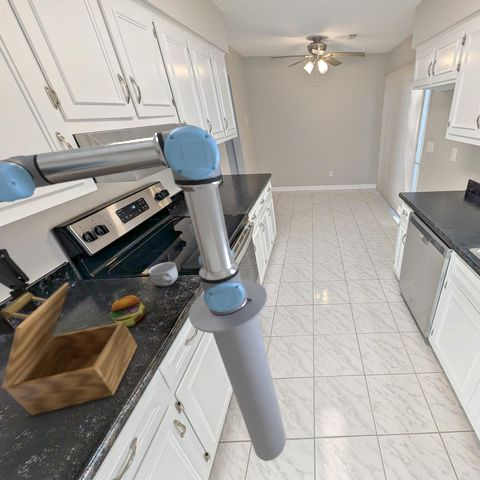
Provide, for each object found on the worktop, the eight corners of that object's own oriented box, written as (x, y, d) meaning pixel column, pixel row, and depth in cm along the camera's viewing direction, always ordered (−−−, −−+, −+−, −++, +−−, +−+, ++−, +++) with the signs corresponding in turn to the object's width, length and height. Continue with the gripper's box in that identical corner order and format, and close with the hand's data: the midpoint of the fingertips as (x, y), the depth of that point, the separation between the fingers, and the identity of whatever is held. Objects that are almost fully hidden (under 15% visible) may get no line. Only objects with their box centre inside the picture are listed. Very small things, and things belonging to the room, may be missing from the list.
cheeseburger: (113, 334, 89) (101, 309, 86) (119, 321, 98) (108, 299, 95) (146, 321, 93) (136, 297, 91) (149, 310, 103) (139, 288, 100)
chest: (137, 345, 84) (123, 321, 79) (113, 395, 69) (94, 368, 64) (71, 360, 80) (52, 335, 75) (31, 415, 66) (5, 389, 61)
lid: (69, 283, 70) (38, 275, 67) (21, 328, 55) (-21, 321, 52) (53, 334, 75) (25, 330, 73) (6, 388, 61) (-33, 384, 58)
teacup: (151, 282, 116) (145, 267, 113) (176, 272, 123) (171, 258, 119) (159, 296, 107) (152, 280, 103) (185, 284, 113) (180, 269, 110)
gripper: (-24, 223, 60) (32, 298, 71) (-135, 267, 43) (-39, 358, 53) (13, 218, 62) (63, 293, 72) (-79, 259, 44) (4, 349, 55)
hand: (19, 320), depth 63 cm, fingers closed on lid, 7 cm apart
